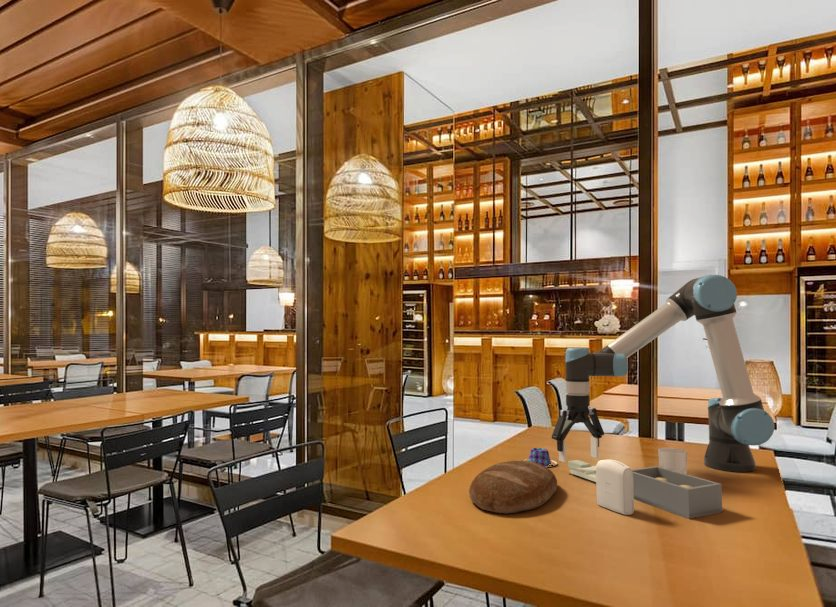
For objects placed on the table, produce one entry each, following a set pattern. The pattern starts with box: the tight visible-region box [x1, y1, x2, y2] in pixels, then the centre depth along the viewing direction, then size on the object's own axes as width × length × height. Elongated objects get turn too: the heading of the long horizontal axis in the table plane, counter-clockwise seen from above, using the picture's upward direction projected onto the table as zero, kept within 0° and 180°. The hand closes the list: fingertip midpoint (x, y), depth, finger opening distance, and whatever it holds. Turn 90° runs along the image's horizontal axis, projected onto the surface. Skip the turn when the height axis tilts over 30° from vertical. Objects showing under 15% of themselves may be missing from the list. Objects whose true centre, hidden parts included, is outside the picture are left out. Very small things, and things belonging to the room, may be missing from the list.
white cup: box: [657, 447, 688, 475], centre depth 161 cm, size 8×8×10 cm
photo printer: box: [595, 458, 635, 516], centre depth 138 cm, size 10×4×12 cm, turn 26°
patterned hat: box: [524, 447, 558, 468], centre depth 186 cm, size 12×12×5 cm
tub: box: [631, 465, 723, 520], centre depth 142 cm, size 12×20×7 cm, turn 24°
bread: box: [468, 459, 558, 515], centre depth 151 cm, size 22×37×8 cm, turn 153°
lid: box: [567, 459, 596, 483], centre depth 167 cm, size 13×27×3 cm, turn 24°
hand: (578, 459), depth 176 cm, fingers open, 13 cm apart
